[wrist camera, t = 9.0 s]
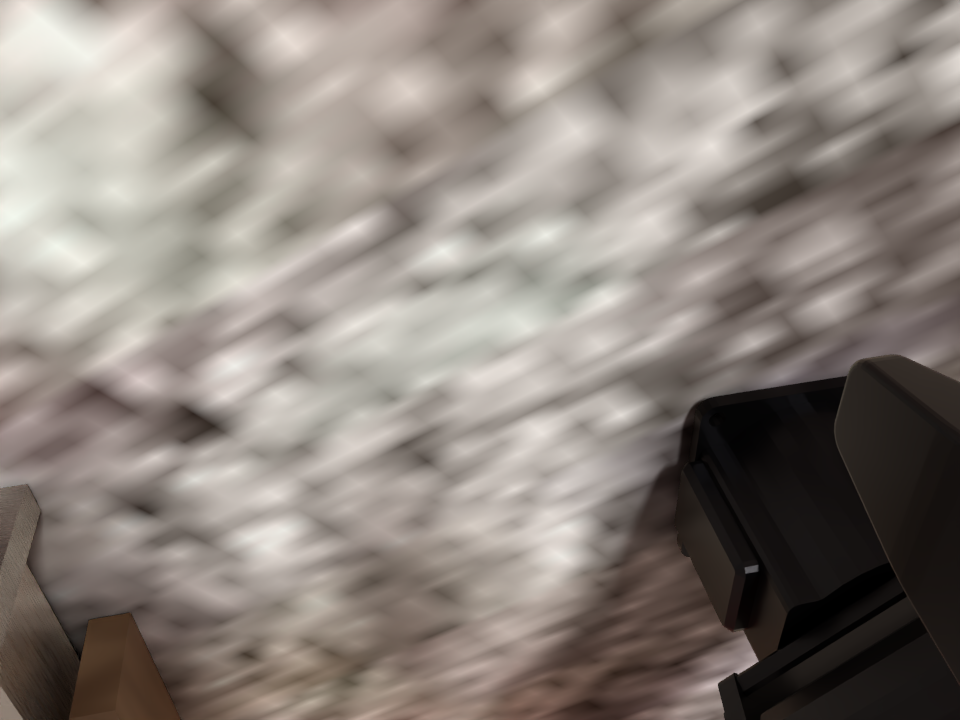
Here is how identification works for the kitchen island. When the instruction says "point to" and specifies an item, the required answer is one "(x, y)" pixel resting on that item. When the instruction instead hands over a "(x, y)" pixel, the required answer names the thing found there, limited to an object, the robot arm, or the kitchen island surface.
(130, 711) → the housing
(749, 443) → the robot arm
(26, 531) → the metal-capped square post
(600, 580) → the kitchen island surface
